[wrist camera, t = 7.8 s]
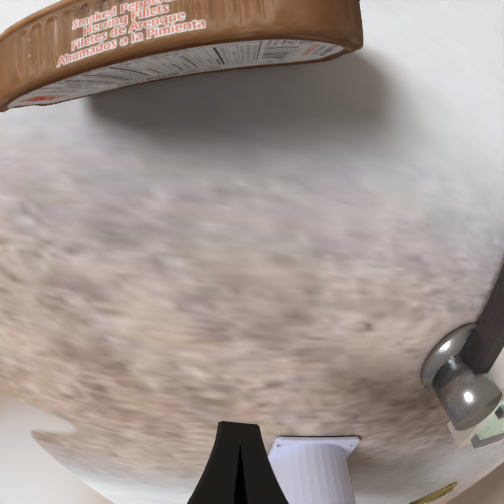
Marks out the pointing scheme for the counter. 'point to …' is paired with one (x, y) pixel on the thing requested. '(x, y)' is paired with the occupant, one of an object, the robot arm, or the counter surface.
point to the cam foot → (469, 366)
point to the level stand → (491, 425)
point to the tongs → (435, 495)
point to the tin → (163, 43)
